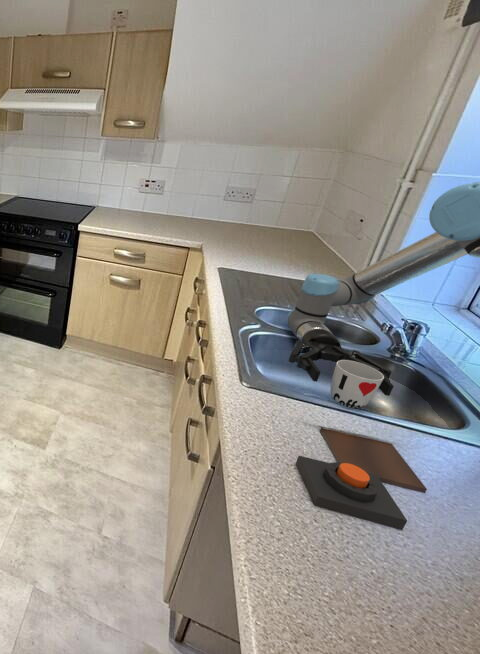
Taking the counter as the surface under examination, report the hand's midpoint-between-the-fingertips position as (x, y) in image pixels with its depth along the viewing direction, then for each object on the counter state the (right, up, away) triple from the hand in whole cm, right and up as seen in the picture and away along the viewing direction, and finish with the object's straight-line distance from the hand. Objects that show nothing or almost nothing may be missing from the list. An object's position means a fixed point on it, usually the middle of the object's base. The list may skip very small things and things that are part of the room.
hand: (352, 383), depth 96 cm
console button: (-22, -11, -23) cm, 33 cm away
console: (-22, -14, -22) cm, 34 cm away
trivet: (-10, -11, -14) cm, 21 cm away
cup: (0, -6, +2) cm, 6 cm away
